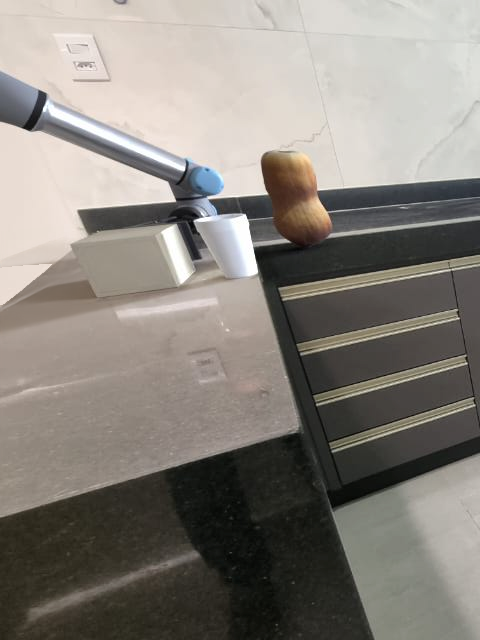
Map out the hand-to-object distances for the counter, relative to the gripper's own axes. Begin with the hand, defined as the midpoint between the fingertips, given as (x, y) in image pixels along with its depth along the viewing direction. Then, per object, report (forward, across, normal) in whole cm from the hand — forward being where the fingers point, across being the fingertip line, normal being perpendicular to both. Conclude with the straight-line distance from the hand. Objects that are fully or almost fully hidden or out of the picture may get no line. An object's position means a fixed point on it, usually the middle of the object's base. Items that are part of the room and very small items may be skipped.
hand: (164, 233), depth 132 cm
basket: (+7, 0, -7) cm, 9 cm away
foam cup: (+24, -18, -8) cm, 31 cm away
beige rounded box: (+21, 0, -8) cm, 22 cm away
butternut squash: (0, -30, -8) cm, 31 cm away
